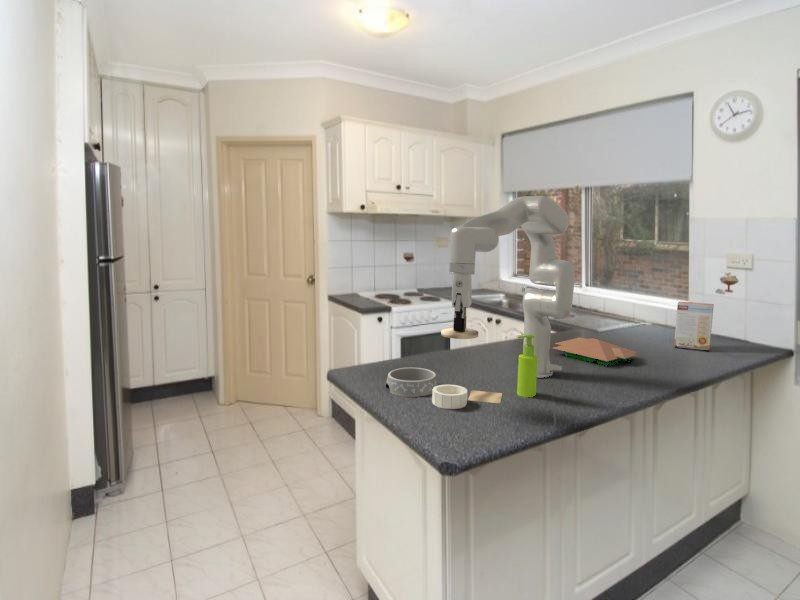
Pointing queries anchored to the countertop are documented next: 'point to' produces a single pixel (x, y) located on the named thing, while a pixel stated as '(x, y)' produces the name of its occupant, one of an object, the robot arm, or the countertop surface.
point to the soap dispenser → (527, 369)
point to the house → (595, 350)
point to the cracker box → (693, 324)
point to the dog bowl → (411, 382)
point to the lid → (459, 333)
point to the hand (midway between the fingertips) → (459, 329)
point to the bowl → (449, 396)
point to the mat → (485, 396)
